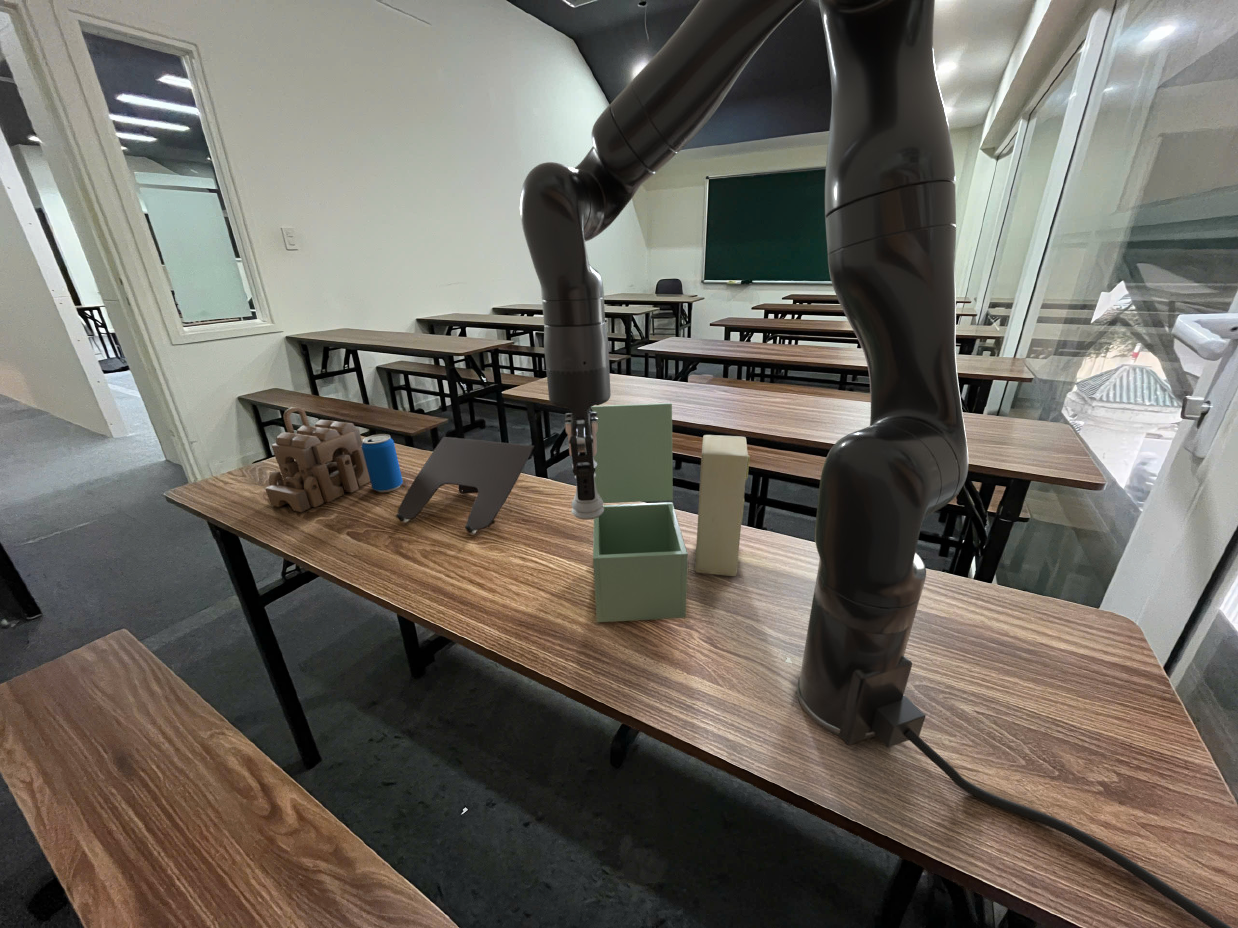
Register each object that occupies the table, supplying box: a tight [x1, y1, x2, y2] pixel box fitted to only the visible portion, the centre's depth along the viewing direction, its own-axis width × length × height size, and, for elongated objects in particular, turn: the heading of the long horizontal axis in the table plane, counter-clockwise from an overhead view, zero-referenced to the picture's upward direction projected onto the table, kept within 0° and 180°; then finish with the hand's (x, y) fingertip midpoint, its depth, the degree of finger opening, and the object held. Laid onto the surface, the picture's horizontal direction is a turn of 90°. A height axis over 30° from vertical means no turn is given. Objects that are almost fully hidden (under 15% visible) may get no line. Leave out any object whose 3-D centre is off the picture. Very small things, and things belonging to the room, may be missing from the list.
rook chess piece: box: [570, 461, 604, 521], centre depth 63 cm, size 4×4×8 cm
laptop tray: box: [395, 436, 535, 536], centre depth 100 cm, size 23×23×9 cm
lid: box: [591, 402, 674, 504], centre depth 77 cm, size 15×13×5 cm
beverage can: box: [361, 433, 404, 493], centre depth 107 cm, size 6×6×12 cm
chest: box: [592, 501, 689, 623], centre depth 72 cm, size 15×13×11 cm
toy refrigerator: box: [694, 434, 751, 577], centre depth 76 cm, size 8×7×21 cm
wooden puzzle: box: [264, 406, 371, 513], centre depth 107 cm, size 22×15×19 cm, turn 158°
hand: (586, 491), depth 63 cm, fingers closed on rook chess piece, 3 cm apart
